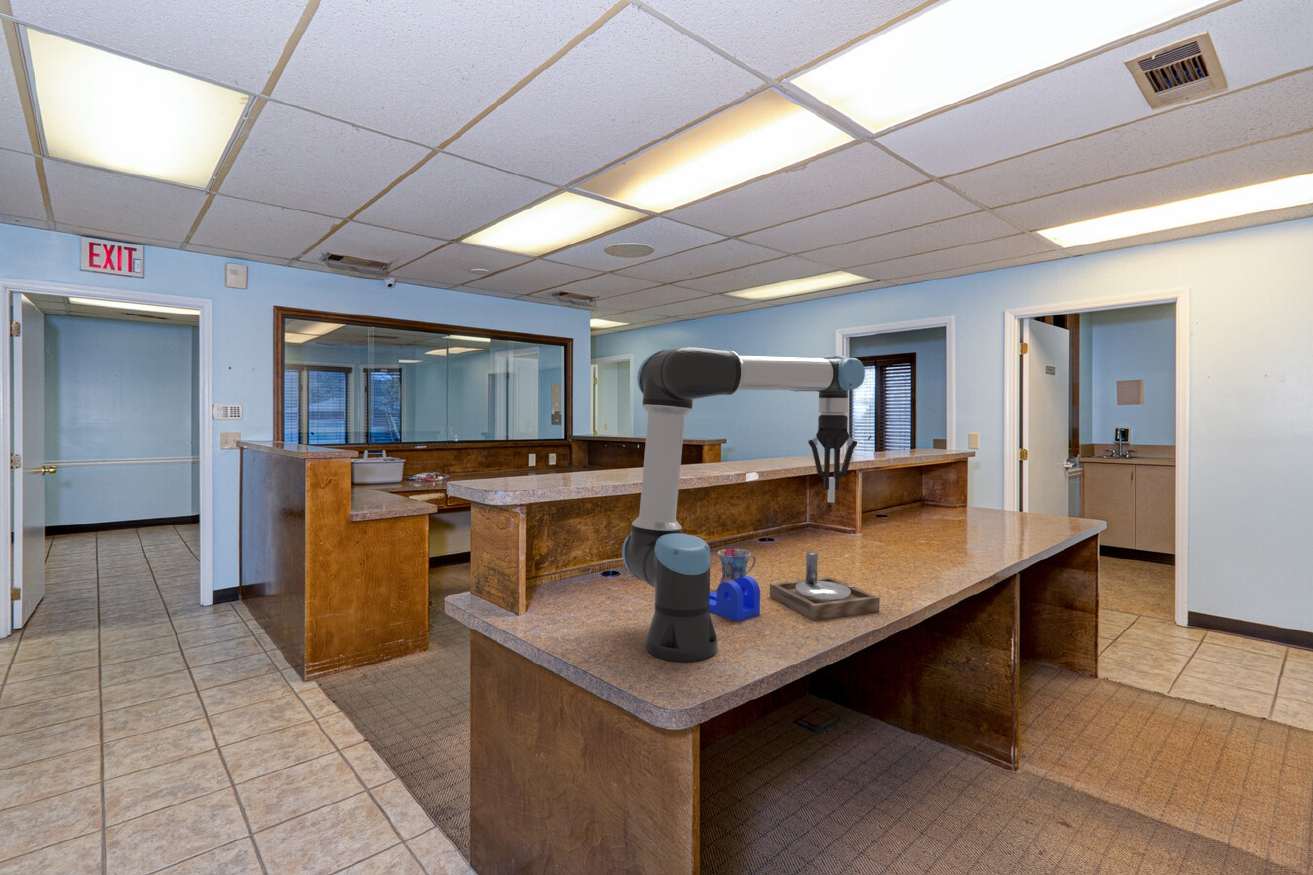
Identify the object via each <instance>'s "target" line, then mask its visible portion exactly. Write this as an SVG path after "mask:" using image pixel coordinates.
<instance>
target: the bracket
mask: <svg viewBox="0 0 1313 875" xmlns="http://www.w3.org/2000/svg"><path fill="white" fill-rule="evenodd" d="M719 584H720V583H719ZM719 584H718V586H717V589H716V592H714V591H710V605H709V612H710V613H712V614H715V615H718V616H720V617H723V618H726V619H729V620H732V621H734V622H736V623H737V622H741V621H744V620H747V619H750V618H754V617H755V616H759V615H760V614H761V590H760V586H759V583H758V582H757V581H756V580H755V578H754V577H752V576H749V575H746V576H745V577H741V578H738V579H737V580H736V582H735V581H731V580H730V581H726V582H722V583H721V584H720V585H719Z"/></svg>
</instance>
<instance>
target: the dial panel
mask: <svg viewBox="0 0 1313 875" xmlns="http://www.w3.org/2000/svg"><path fill="white" fill-rule="evenodd" d="M805 581H806V579H802V580H795V581H794V580H793V581H782V582H773V583H769V598H772V599H773V600H775V601H777V602H779V603H781V604H783V605H785V606H786V607H788V608H790V609H792V610H794V611H796V612H797V613H799V614H801V615H803V616H805V617H806V618H808V619H810V620H812V621H819V620H825V619H832V618H841V617H847V616H855V615H861V614H869V613H874V612H875V613H876V612H880V603H881V602H880V601H881V600H880V599H881V598H880V597H879V596H876V595H875V594H872V593H870V592H867V591H865V590H862V589H860V588H858V587H856V586H854V585H852V584H851V585H850V584H847V583H845V582H843V581H840V580H838V579H836V578H834V577H831V576H830V577H828V576H827V577H820V578H817V581H827V582H833V583H838V584H841V585H844V586H846V587H848V588H849V589H850V590H851V598H850V599H848V600H840V601H832V602H824V603H813V602H811V601H809V600H807V599H805V598H803V597H801V596H799V595H797V594H796V585H797V584H798V583H800V582H805Z"/></svg>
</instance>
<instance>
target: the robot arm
mask: <svg viewBox="0 0 1313 875" xmlns="http://www.w3.org/2000/svg"><path fill="white" fill-rule="evenodd" d="M865 377H866V369H865V366H864V365H863V363H862V360H859V359H858V358H855V357H846V356H844V355H843V356H842V355H826V356H825V355H824V356H822V357H814V358H813V357H793V356H792V357H791V356H789V357H787V356H763V355H762V356H757V355H756V356H755V355H754V356H753V355H739V354H738V353H737V352H735V351H733V350H721V349H713V348H706V347H705V348H703V347H698V346H683V347H679V348H673V349H672V348H671V349H663V350H659V351H657V352H654V353H652V354H650V355H649V356H647V357H646V358H645V359H644V360H643V361H642V363H641V364H640V366H639V368H638V371H637V377H636V378H637V379H636V380H637V386H638V388H639V390H640V392H641V393H642V405H641V406H642V408H643V409H644V410H645V411H646V412H647V425H646V433H645V434H646V436H645V448H644V460H643V469H642V481H641V493H640V502H639V503H640V504H639V515H638V517H636V518H635V519H634V520H633V521H632V523H631V531H630V533H629V535H627V537H626V538H625V539H624V542H623V544H622V548H621V556H622V560H623V561H622V562H623V563H624V565H625V567H626V568H627V570H628V571H629V572H630V573H631V574H632V575H633V576H634V577H635V578H637V579H638V580H640V581H643V582H645V583H646V584H648V585H650V586H651V587H653V588H654V614H653V617H652V619H651V622H650V625H649V628H648V632H647V634H646V639H645V641H646V644H645V645H646V646H645V647H646V650H647V651H648V653H649V654H650V655H653V656H654V657H656V658H658V659H662V660H665V661H671V662H678V663H679V662H683V663H685V662H687V663H688V662H697V661H703V660H706V659H708V658H711V657H713V656H714V655H715V654H716V653H717V651H718V637H717V633H716V630H715V627H714V624H713V621H712V617H711V612H709V605H710V592H711V591H710V590H711V589H710V588H711V565H712V558H711V549H710V546H709V544H708V543H707V541H705V540H704V539H702V538H701V537H698V536H695V535H689V534H686V533H682V529H683V528H682V526H681V524H680V523H679V521H678V520H677V510H678V509H677V508H678V498H679V487H680V486H679V485H680V477H681V466H682V465H681V464H682V454H683V452H682V451H683V443H684V431H685V430H684V428H685V420H686V419H685V418H686V416H688V415H689V414H690V413H691V412H692V411H693V404H694V403H693V402H694V400H698V399H702V398H709V397H715V396H731V395H734V394H735V393H736V392H737V391H791V392H792V391H793V392H796V393H797V392H818V413H819V416H818V420H817V422H818V426H817V432H816V434H815V436H814V437H813V438H810V439H808V440H807V444H808V445H809V446H810V448H811V451H812V456H813V461H814V464H815V469H816V473H817V475H819V476H822V478H823V488H824V490H827V502H828V503H835V499H836V494H835V493H836V491H839V489H840V478H842V477H845V476H847V474H848V470H849V468H850V467H849V466H850V463H851V461H852V460H851V459H852V455H853V452H854V450H855V448H856V447H857V445H858V441H857V440H855V439H853V438H851V437H850V434H849V432H848V418H849V417H848V416H847V415H846V414H848V412H849V391H850V390H856V389H858V388H860V387H861V386H862V384H864V381H865ZM818 441H819V443H820V444H821V446H822V447H823V450H824V459H823V461H824V462H823V469H822V464H821V459H820V455H819V452H818V444H819V443H818ZM845 444H846V446H847V448H846V451H845V456H844V458H843V462H842V467H841V449H842V448H843V447H844V445H845ZM831 449H833V476H831V475H830V471H831V470H830V468H831ZM840 467H841V468H840ZM840 469H841V470H840Z"/></svg>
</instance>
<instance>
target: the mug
mask: <svg viewBox="0 0 1313 875" xmlns="http://www.w3.org/2000/svg"><path fill="white" fill-rule="evenodd" d="M717 555H718V557H719V560H720V564H721V578H720V582H719V584H718V586H719V585H720V584H721V583H722V582H726V581H730V580H731V581H735V582H736V580H737V579H738V578H741V577H745V576H747V575H748V574H749V573H750V572H751V571H752V569H753V568H754V567H755V564H756V560H757V559H756V556H755V555H752V554H751V552H750V551H748V550H745V549H737V548H726V549H720V550H718V551H717ZM750 557H752V558H753V560H752V561H753V562H752V564H751V566H750V568H749V569H747V566H748V563H749V559H750Z"/></svg>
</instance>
